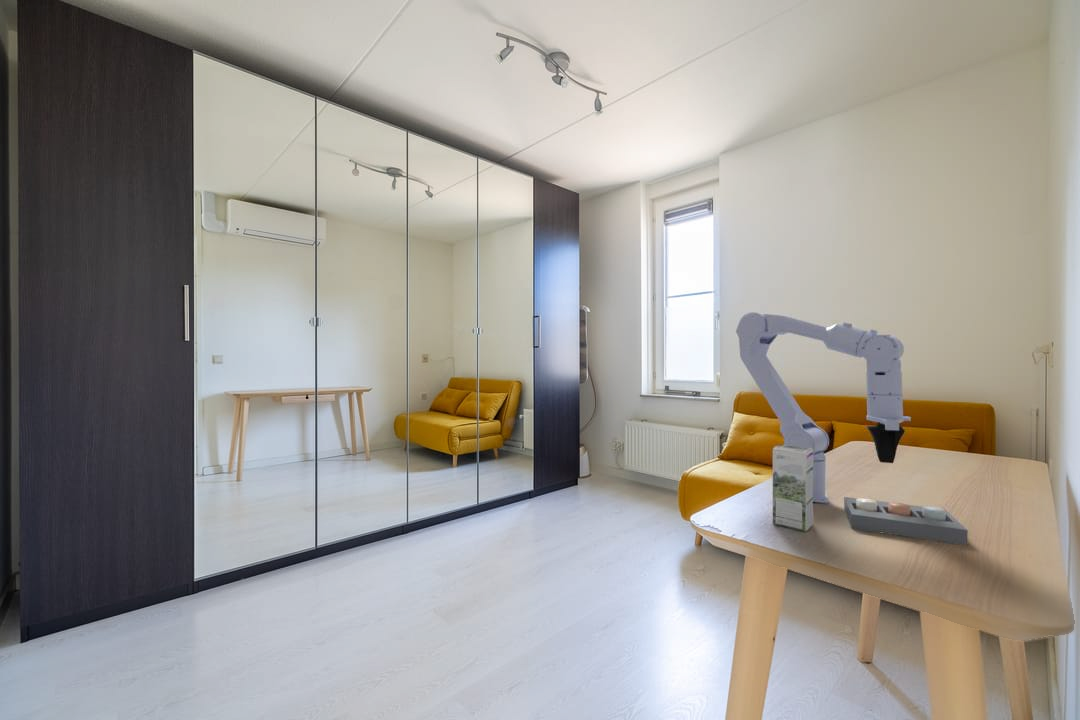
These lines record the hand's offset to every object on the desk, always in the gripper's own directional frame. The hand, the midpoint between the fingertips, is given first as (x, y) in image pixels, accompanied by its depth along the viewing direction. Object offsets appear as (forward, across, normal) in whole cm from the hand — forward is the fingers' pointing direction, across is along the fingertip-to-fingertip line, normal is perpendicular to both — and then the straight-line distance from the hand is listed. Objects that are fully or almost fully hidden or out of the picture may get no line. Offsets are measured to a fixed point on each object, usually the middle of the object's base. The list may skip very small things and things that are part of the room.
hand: (886, 462), depth 91 cm
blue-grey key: (+9, -7, -6) cm, 13 cm away
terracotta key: (+9, -7, -1) cm, 12 cm away
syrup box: (+10, -16, +17) cm, 25 cm away
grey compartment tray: (+10, -7, -1) cm, 12 cm away
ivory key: (+9, -7, +4) cm, 12 cm away
